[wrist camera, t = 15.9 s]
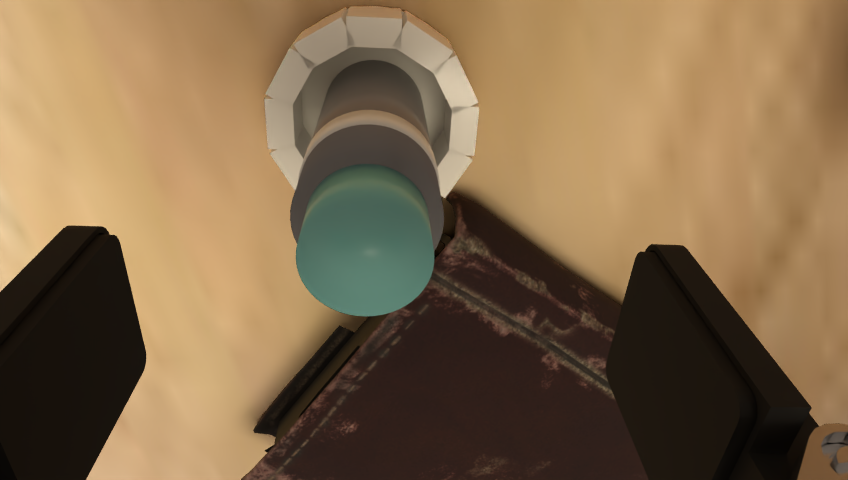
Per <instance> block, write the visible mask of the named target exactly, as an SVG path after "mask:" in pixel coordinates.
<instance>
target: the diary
mask: <svg viewBox="0 0 848 480" xmlns="http://www.w3.org/2000/svg"><path fill="white" fill-rule="evenodd" d="M446 200H447V201H448V202H449V203H450V204H451V205H453V209H454V213H455V217H456V221H455V237H454V238H453V239H452V238H451V237H449V236H447V235H445V234H443V233H442V235H441V238H440V241H441V242H442V243H444V244H445V248H444V249H443V250H442V252H441V253H440V254H439V255H438V256H437V257H434V267H433V271H432V275H431V277H430V279H429V282H428V284H427V285H426V287H425V288H424V290H423V291H422V292H421V293H420V294H419V295H418V296H417V297H416V298H415V299H414V300H413V301H412V302H410V303H409V304H407V305H406V306H404V307H402V308H400V309H398V310H396V311H393V312H391V313H387V314H383V315H377V316H369V317H368V318H367V319H366V321H365V322H364V323H363V324H362V325H361V326H360V327H359V329H358V330H357V331H356V332H355V333H354V332H352V331H350V330H348V329H346V328H344V327H342V326H340V325H339V327H338V328H337V329H336V330H335V331H334V332H333V334H332V335H331V336H330V337H329V338H328V339H327V341H326V342H325V343H324V344H323V345H322V346H321V347H320V349H319V350H318V351H317V352H316V353H315V354H314V356H313V357H312V358H311V359H310V360H309V361H308V363H307V364H306V365H305V366H304V367H303V368H302V369H301V370H300V372H299V373H298V374H297V375H296V376H295V377H294V378H293V379H292V380H291V381H290V382H289V383H288V385H287V386H286V387H285V388H284V390H283V391H282V392H281V393H280V395H279V396H278V397H277V398H276V400H275V401H274V402H273V403H272V405H271V406H270V407H269V408H268V410H267V411H266V412H265V413H264V415H263V416H262V418H261V419H260V421H259V422H258V424H257V425H256V427H255V428H254V430H253V431H254V433H262V434H270V435H273V436H275V437H276V439H275V444H274V445H273V446H271V447H270V448H268V449H266V450H265V451H266V452H267V454H266V455H265V456H264V457H263V458H262V459H261V460H260V461H259V463H258V464H257V465H256V466H255V467H254V468H253V469H252V470H251V471H250V472H249V473H248V474H246V475H245V476H244V477H243V478H242V479H241V480H649V479H648V476H647V474H646V472H645V469H644V467H643V464H642V462H641V460H640V457H639V455H638V452H637V450H636V448H635V445H634V443H633V440H632V438H631V436H630V433H629V431H628V428H627V426H626V424H625V421H624V419H623V416H622V414H621V412H620V409H619V407H618V404H617V402H616V400H615V397H614V395H613V392H612V390H611V388H610V385H609V383H608V380H607V376H606V362H607V358H608V354H609V351H610V347H611V343H612V340H613V336H614V333H615V329H616V326H617V322H618V319H619V315H620V311H621V308H622V306H620V305H619V304H617V303H616V302H614V301H613V300H611V299H610V298H608V297H607V296H605V295H604V294H602V293H601V292H599V291H598V290H596V289H595V288H593V287H592V286H590V285H589V284H587V283H586V282H584V281H583V280H581V279H580V278H578V277H577V276H575V275H574V274H572V273H571V272H569V271H568V270H566V269H565V268H564V267H562V266H561V265H560V264H558V263H557V262H555V261H554V260H553V259H551V258H550V257H549V256H547V255H546V254H545V253H543V252H542V251H541V250H539V249H538V248H537V247H535V246H534V245H533V244H531V243H530V242H529V241H527V240H526V239H525V238H523V237H522V236H521V235H519V234H518V233H517V232H515V231H514V230H513V229H511V228H510V227H509V226H507V225H506V224H505V223H503V222H502V221H501V220H499V219H498V218H497V217H495V216H494V215H493V214H491V213H490V212H489V211H487V210H486V209H485V208H483V207H482V206H481V205H479V204H478V203H476V202H474V201H472V200H470V199H468V198H466V197H464V196H462V195H460V194H458V193H456V192H451V193H450V194H449V195H448V197H447V199H446Z"/></svg>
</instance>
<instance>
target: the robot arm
mask: <svg viewBox="0 0 848 480" xmlns="http://www.w3.org/2000/svg"><path fill="white" fill-rule="evenodd" d="M145 364H146V350H145V346H144V342H143V337H142V333H141V329H140V325H139V321H138V316H137V312H136V308H135V304H134V300H133V295H132V291H131V287H130V283H129V279H128V274H127V270H126V266H125V262H124V258H123V253H122V249H121V245H120V242H119V239H118V238H117V236H115V235H109V232H108V231H107V229H106V228H104V227H99V226H66V227H65V228H63V229H62V230H61V231H60V232H59V233H58V234H57V235H56V236H55V237H54V238H53V239H52V240H51V241H50V242H49V243H48V244H47V245H46V246H45V247H44V248H43V249H42V251H41V252H40V253H39V254H38V255H37V256H36V257H35V258H34V259H33V260H32V261H31V262H30V263H29V264H28V265H27V266H26V267H25V268H24V269H23V270H22V271H21V272H20V273H19V274H18V275H17V276H16V277H15V278H14V279H13V280H12V281H11V282H10V283H9V284H8V285H7V286H6V287H5V288H4V289H3V290H2V291H1V292H0V480H86V478H87V477H88V475H89V473H90V471H91V469H92V467H93V465H94V463H95V462H96V460H97V458H98V456H99V454H100V452H101V450H102V448H103V447H104V445H105V443H106V441H107V439H108V437H109V435H110V433H111V432H112V430H113V428H114V426H115V424H116V422H117V420H118V418H119V416H120V415H121V413H122V411H123V409H124V407H125V405H126V403H127V401H128V400H129V398H130V396H131V394H132V392H133V390H134V388H135V386H136V385H137V383H138V381H139V379H140V377H141V375H142V373H143V371H144V368H145ZM606 376H607V380H608V383H609V385H610V388H611V390H612V392H613V395H614V397H615V400H616V402H617V404H618V407H619V409H620V412H621V414H622V416H623V419H624V421H625V424H626V426H627V428H628V431H629V433H630V436H631V438H632V440H633V443H634V445H635V448H636V450H637V452H638V455H639V457H640V460H641V462H642V464H643V467H644V469H645V472H646V474H647V476H648V479H649V480H848V425H846V424H840V423H835V424H824V425H822V426H818V424H817V423H816V422H815V420H814V419H813V418H812V417H811V415H810V414H809V412H810V410H811V406H810V405H809V404H808V402H807V401H806V400H805V399H804V397H803V396H802V395H801V394H800V392H799V391H798V390H797V388H796V387H795V386H794V385H793V383H792V382H791V381H790V380H789V378H788V377H787V376H786V374H785V373H784V372H783V371H782V369H781V368H780V367H779V366H778V364H777V363H776V362H775V360H774V359H773V358H772V357H771V355H770V354H769V353H768V352H767V350H766V349H765V348H764V346H763V345H762V344H761V343H760V341H759V340H758V339H757V338H756V336H755V335H754V334H753V332H752V331H751V330H750V329H749V327H748V326H747V325H746V324H745V322H744V321H743V320H742V318H741V317H740V316H739V315H738V313H737V312H736V311H735V310H734V308H733V307H732V306H731V304H730V303H729V302H728V301H727V299H726V298H725V297H724V296H723V294H722V293H721V292H720V290H719V289H718V288H717V287H716V285H715V284H714V283H713V282H712V280H711V279H710V278H709V276H708V275H707V274H706V273H705V271H704V270H703V269H702V268H701V266H700V265H699V264H698V262H697V261H696V260H695V259H694V257H693V256H692V255H691V254H690V252H689V251H688V250H687V248H685V247H684V246H682V245H657V244H651V245H650V246H648V248H647V249H646V251H645V252H639V253H638V254H637V256H636V258H635V262H634V265H633V269H632V272H631V276H630V279H629V283H628V286H627V290H626V294H625V297H624V301H623V304H622V308H621V311H620V315H619V319H618V322H617V326H616V329H615V333H614V336H613V340H612V343H611V347H610V351H609V354H608V358H607V362H606Z"/></svg>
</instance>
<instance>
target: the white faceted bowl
mask: <svg viewBox="0 0 848 480" xmlns="http://www.w3.org/2000/svg"><path fill="white" fill-rule="evenodd" d="M365 60H380V61H385V62H389V63H391V64H394V65H396V66H398V67H399V68H401V69H402V70H404V71H405V72H406V73H407V74H408V75H409V76H410V77H411V78H412V79H413V81H414V82H415V84H416V85H417V87H418V89H419V92H420V94H421V98H422V102H423V107H424V112H425V117H426V123H427V128H428V133H429V138H430V143H431V148H432V151H433V153H434V157H435V160H436V165H437V170H438V175H439V181H440V194H441V196H442V197H444V198H446V196H447V195H448V194H449V192H450V191H451V190H452V188H453V187H454V185H455V184H456V183H457V181H458V180H459V178H460V177H461V176H462V174H463V173H464V172H465V170H466V169H467V167H468V166H469V165H470V163H471V162H472V160H473V159H472V156H474V155H475V145H476V136H477V126H478V116H479V105H478V100H477V98H476V96H475V94H474V92H473V89H472V87H471V85H470V83H469V81H468V79H467V77H466V74H465V72H464V70H463V68H462V66H461V64H460V62H459V60H458V57H457V55H456V53H455V51H454V49H453V47H452V45H451V43H450V42H448V39H447V38H446V37H444V36H443V35H442V34H440V33H439V32H437V31H436V30H435V29H433V28H432V27H431V26H430V25H428V24H427V23H426V22H424V21H422V20H421V19H419V18H417V17H415V16H414V15H412V14H411V13H409V12H408V11H406V10H405V12H404V11H401V8H390V7H382V6H350V8H348V9H346V7H345V8H343V9H341V10H339V11H338V12H336V13H333V14H331V15H329V16H327V17H325V18H323V19H322V20H320V21H319V22H317V23H316V24H314V25H313V26H311V27H309V28H307V29H306V30H304V31H302V33H301V34H300V35H298V37H297V38H296V40H295V41H294V42H293V44H292V45H291V47H290V48H289V50H288V52H287V54H286V56H285V58H284V59H283V61H282V63H281V65H280V67H279V69H278V71H277V73H276V75H275V76H274V78H273V80H272V82H271V84H270V86H269V88H268V90H267V92H266V93H265V94H266V97H265V98H264V102H265V116H266V129H267V142H268V149H272V150H271V152H270V155H271V156H272V158H273V159H274V161H275V162H276V164H277V165H278V167H279V168H280V170H281V171H282V172H283V174H284V175H285V177H286V178H287V180H288V181H289V183H290V184H291V186H292V187H293V189H294V190H296V187H297V184H298V178H299V172H300V169H301V166H302V163H303V160H304V157H305V154H306V151H307V148H308V146H309V144H310V142H311V140H312V137H313V134H314V131H315V128H316V125H317V122H318V119H319V116H320V113H321V110H322V106H323V103H324V100H325V97H326V94H327V91H328V88H329V86H330V84H331V83H332V81H333V80H334V78H335V77H336V76H337V75H338V74H339V73H340V72H341V71H342V70H343V69H345V68H346V67H348V66H350V65H352V64H354V63H357V62H360V61H365Z"/></svg>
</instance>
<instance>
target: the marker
mask: <svg viewBox="0 0 848 480" xmlns="http://www.w3.org/2000/svg"><path fill="white" fill-rule="evenodd" d="M290 221H291V228H292V232H293V235H294V238H295V240H296V243H297V248H296V264H297V269H298V272H299V275H300V277H301V280H302V282H303V283H304V285H305V286H306V288H307V289H308V290H309V292H310V293H311V294H312V295H313V296H314V297H315V298H316V299H317V300H319V301H320V302H321V303H323V304H324V305H326V306H328V307H330V308H331V309H334V310H336V311H339V312H341V313H345V314H349V315H354V316H377V315H383V314H387V313H391V312H393V311H396V310H398V309H400V308H402V307H404V306H406V305H407V304H409V303H410V302H412V301H413V300H414V299H415V298H416V297H417V296H418V295H419V294H420V293H421V292H422V291H423V290H424V288H425V287H426V285H427V284H428V282H429V279H430V277H431V275H432V271H433V267H434V251H435V249H436V248H437V245H438V243H439V241H440V238H441V235H442V232H443V226H444V211H443V204H442V199H441V194H440V181H439V175H438V170H437V165H436V160H435V157H434V153H433V151H432V148H431V143H430V138H429V133H428V128H427V123H426V117H425V112H424V107H423V102H422V98H421V94H420V92H419V89H418V87H417V85H416V84H415V82H414V81H413V79H412V78H411V77H410V76H409V75H408V74H407V73H406V72H405V71H404V70H402V69H401V68H399V67H398V66H396V65H394V64H391V63H389V62H385V61H380V60H365V61H360V62H357V63H354V64H352V65H350V66H348V67H346V68H345V69H343V70H342V71H341V72H340V73H339V74H338V75H337V76H336V77H335V78H334V80H333V81H332V83H331V84H330V86H329V88H328V91H327V94H326V97H325V100H324V103H323V106H322V110H321V113H320V116H319V119H318V122H317V125H316V128H315V131H314V134H313V137H312V140H311V142H310V144H309V146H308V148H307V151H306V154H305V157H304V160H303V163H302V166H301V169H300V172H299V178H298V184H297V187H296V190H295V193H294V197H293V200H292V204H291V210H290Z"/></svg>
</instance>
